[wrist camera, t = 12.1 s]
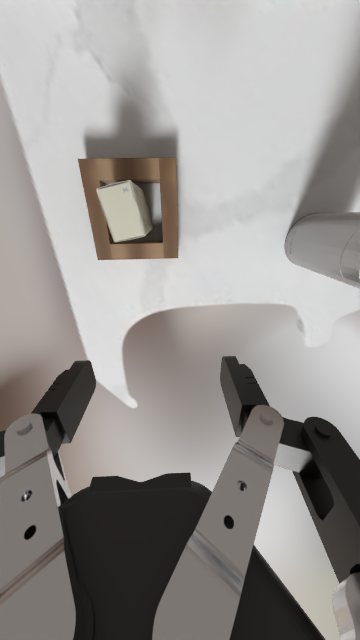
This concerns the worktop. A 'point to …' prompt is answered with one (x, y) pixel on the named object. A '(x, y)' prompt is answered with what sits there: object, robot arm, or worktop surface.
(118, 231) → the skincare box
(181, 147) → the worktop surface
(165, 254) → the socket block
